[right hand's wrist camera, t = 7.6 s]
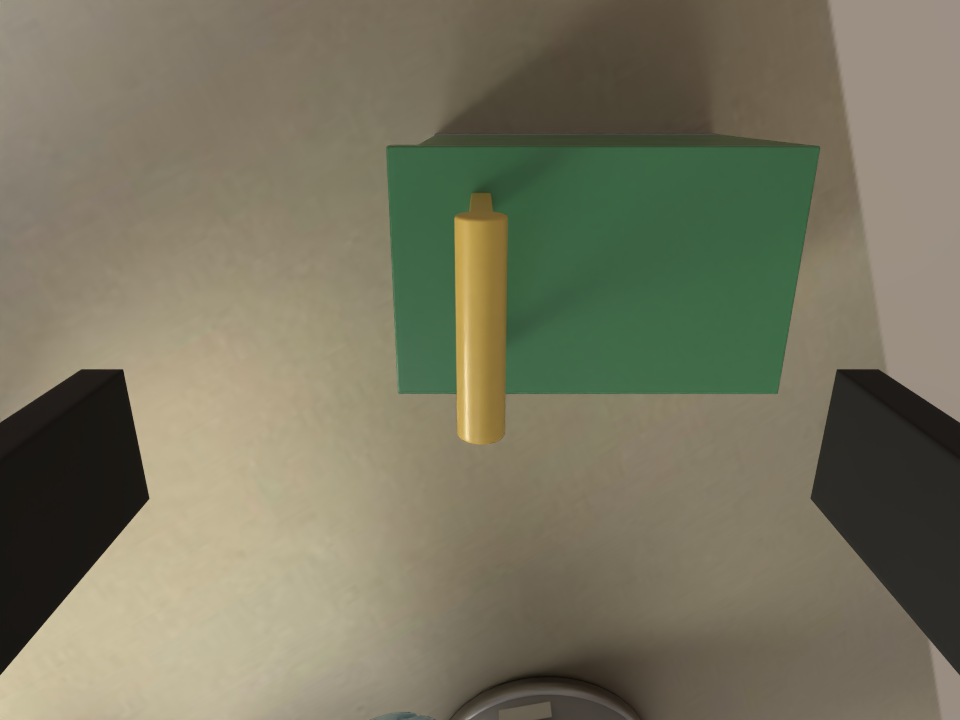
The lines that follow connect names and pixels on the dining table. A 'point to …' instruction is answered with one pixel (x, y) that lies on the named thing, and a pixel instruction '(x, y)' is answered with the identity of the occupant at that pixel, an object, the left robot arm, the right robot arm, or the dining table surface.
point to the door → (593, 270)
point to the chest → (595, 139)
